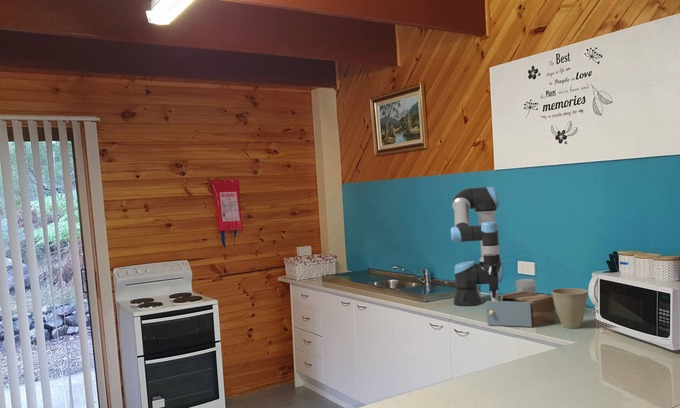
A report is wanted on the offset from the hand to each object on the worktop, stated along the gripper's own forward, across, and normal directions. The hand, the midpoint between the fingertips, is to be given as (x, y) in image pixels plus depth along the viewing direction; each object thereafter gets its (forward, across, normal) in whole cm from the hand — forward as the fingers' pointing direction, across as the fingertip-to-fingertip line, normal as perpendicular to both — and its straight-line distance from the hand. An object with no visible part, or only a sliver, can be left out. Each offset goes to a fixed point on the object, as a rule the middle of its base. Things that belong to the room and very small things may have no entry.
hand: (495, 304), depth 253 cm
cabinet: (+9, +8, -13) cm, 18 cm away
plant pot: (+10, +1, -33) cm, 34 cm away
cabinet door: (+9, -5, -7) cm, 12 cm away
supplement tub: (+9, +34, -8) cm, 36 cm away
